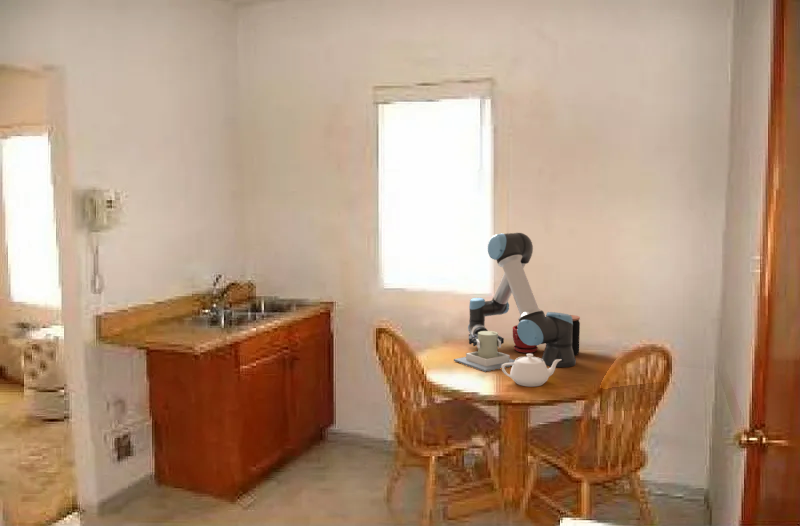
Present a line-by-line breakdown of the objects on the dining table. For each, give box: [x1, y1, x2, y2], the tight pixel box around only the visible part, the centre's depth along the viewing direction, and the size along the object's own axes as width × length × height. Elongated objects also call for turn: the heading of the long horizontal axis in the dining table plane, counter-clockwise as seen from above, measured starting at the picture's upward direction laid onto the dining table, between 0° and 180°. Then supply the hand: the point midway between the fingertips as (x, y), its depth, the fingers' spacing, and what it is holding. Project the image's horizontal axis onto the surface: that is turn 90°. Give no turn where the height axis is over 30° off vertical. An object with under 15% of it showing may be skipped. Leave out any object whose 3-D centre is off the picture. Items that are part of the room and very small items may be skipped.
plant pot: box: [512, 324, 539, 354], centre depth 322 cm, size 13×13×12 cm
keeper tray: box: [453, 350, 516, 373], centre depth 301 cm, size 22×22×4 cm
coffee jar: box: [570, 314, 581, 356], centre depth 316 cm, size 11×11×18 cm
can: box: [477, 330, 499, 359], centre depth 300 cm, size 9×9×12 cm
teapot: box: [501, 353, 562, 387], centre depth 269 cm, size 25×16×12 cm, turn 93°
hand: (489, 345), depth 296 cm, fingers closed on can, 9 cm apart
